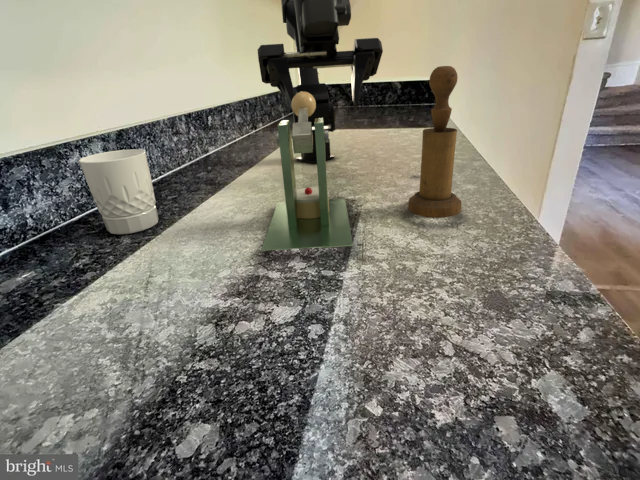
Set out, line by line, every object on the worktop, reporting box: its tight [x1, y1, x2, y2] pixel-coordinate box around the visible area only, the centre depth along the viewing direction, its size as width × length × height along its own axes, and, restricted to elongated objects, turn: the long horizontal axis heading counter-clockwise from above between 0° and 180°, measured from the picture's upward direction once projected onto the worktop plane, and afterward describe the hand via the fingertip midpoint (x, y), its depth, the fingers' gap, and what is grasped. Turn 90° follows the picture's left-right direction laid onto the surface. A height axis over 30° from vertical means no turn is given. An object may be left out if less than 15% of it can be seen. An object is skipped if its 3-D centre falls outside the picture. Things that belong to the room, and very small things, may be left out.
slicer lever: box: [291, 92, 316, 154], centre depth 45 cm, size 11×3×3 cm, turn 0°
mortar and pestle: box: [407, 65, 462, 219], centre depth 44 cm, size 7×6×18 cm
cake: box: [296, 187, 330, 219], centre depth 48 cm, size 5×5×3 cm
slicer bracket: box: [260, 118, 354, 252], centre depth 44 cm, size 16×10×13 cm, turn 0°
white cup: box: [78, 148, 160, 235], centre depth 50 cm, size 8×8×10 cm
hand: (326, 108), depth 55 cm, fingers open, 9 cm apart
